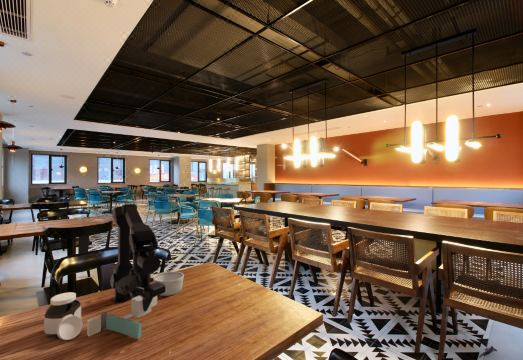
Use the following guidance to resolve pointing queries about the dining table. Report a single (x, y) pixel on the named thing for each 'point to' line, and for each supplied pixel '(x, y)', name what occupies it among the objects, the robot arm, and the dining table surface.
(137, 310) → the block
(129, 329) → the long teal plank
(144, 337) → the dining table surface
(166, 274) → the ramekin
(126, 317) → the door frame
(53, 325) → the spread jar
